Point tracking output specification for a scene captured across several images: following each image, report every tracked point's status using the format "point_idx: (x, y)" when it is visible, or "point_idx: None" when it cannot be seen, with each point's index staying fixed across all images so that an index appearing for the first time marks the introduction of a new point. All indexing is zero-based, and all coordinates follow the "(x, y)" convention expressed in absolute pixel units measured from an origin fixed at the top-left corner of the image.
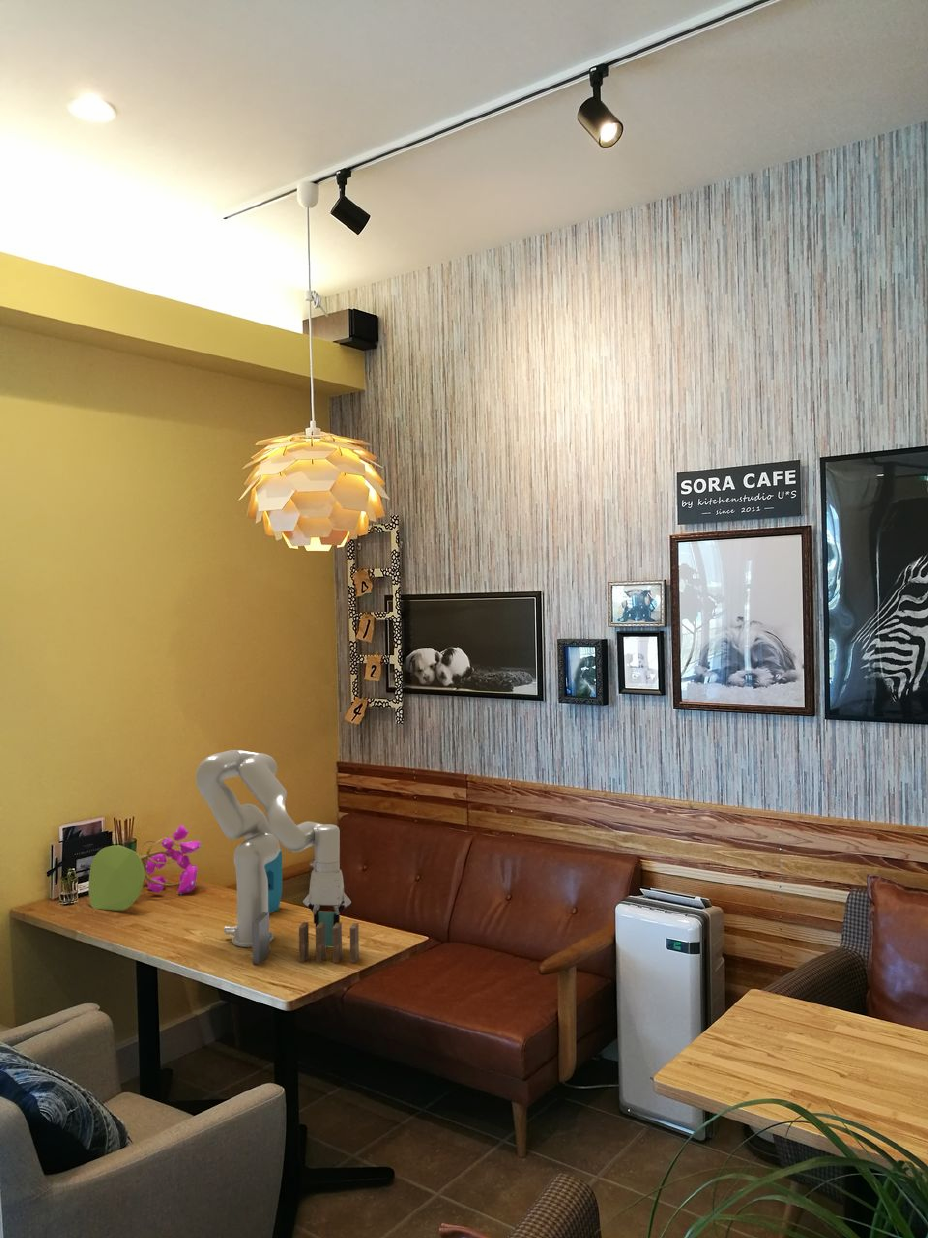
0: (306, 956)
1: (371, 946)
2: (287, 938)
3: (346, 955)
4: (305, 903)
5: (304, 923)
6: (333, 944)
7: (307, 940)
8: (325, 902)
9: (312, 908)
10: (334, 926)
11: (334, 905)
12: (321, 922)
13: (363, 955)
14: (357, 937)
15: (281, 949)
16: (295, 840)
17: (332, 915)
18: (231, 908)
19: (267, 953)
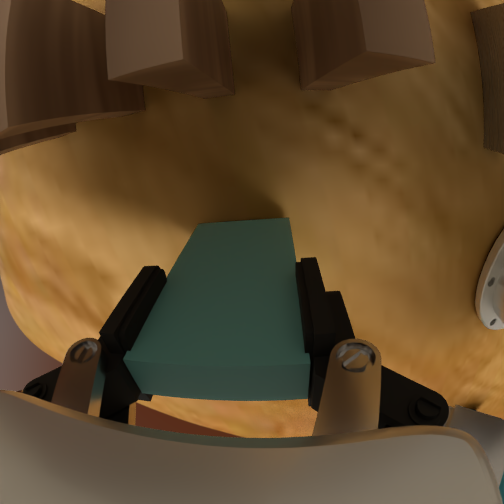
0: (297, 38)
1: (71, 266)
2: (434, 310)
3: (109, 141)
4: (482, 424)
5: (399, 7)
6: (85, 10)
7: (315, 43)
8: (118, 478)
9: (391, 397)
10: (2, 22)
11: (26, 398)
12: (153, 63)
13: (51, 162)
14: None
15: (451, 187)
16: None
17: (146, 345)
18: (495, 411)
19: (488, 118)
